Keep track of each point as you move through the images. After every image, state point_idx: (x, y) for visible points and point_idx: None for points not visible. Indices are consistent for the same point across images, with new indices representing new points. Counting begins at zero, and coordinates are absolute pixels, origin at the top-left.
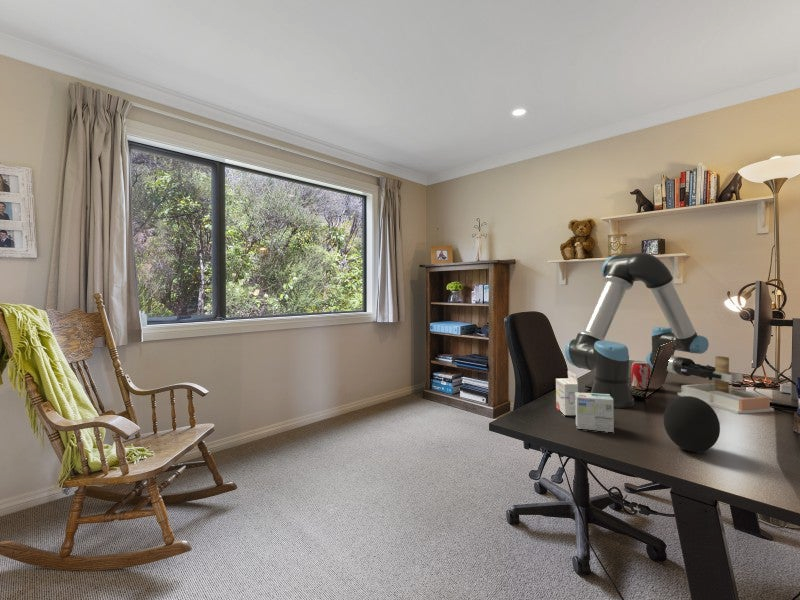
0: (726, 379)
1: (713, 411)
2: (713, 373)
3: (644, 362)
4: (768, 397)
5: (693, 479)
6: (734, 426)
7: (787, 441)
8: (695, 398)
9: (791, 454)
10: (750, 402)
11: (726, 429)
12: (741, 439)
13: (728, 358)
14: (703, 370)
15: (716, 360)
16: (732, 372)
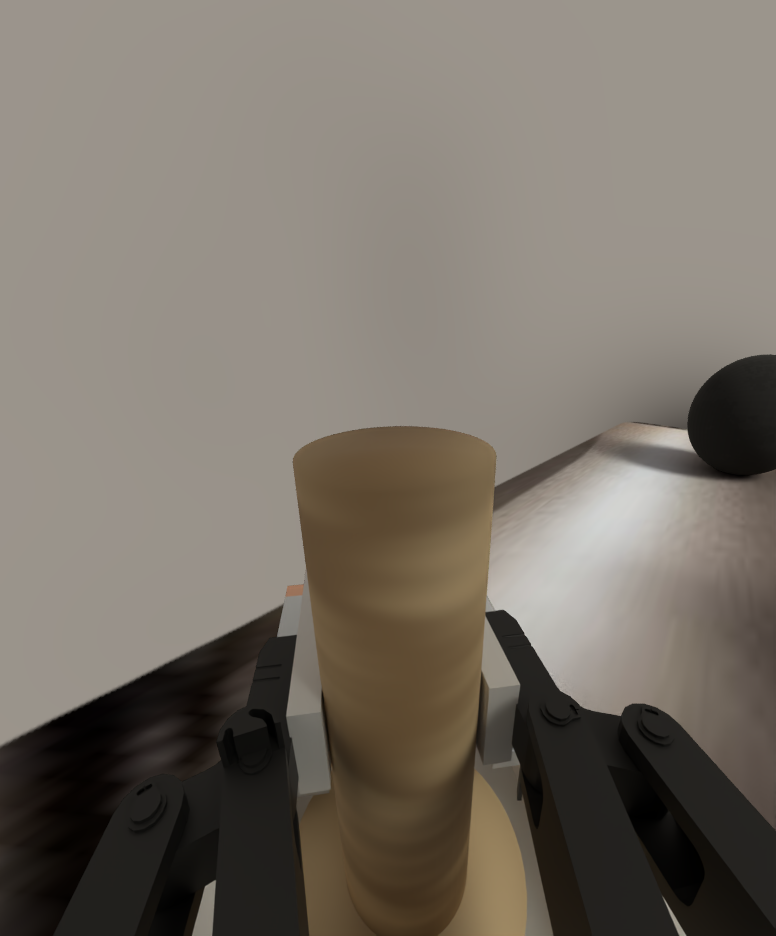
0: None
1: (711, 376)
2: (525, 685)
3: None
4: (294, 586)
5: None
6: (582, 540)
7: (502, 489)
8: (757, 355)
9: (539, 466)
10: None
11: (618, 527)
12: (603, 495)
13: (362, 433)
14: (655, 888)
15: (492, 509)
16: (305, 620)
